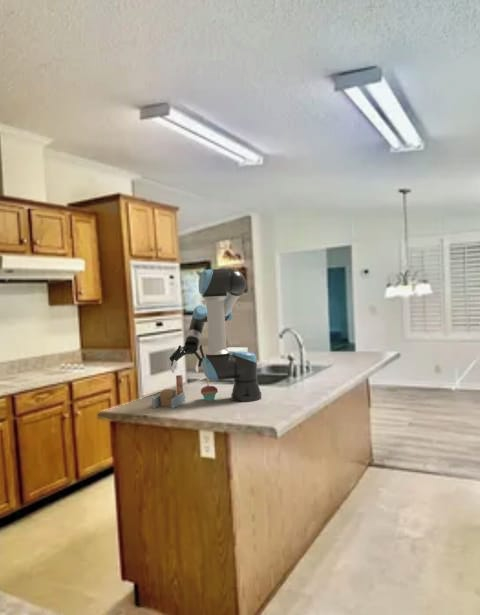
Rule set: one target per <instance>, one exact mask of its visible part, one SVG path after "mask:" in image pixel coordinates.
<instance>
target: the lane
mask: <svg viewBox="0 0 480 615" xmlns="http://www.w3.org/2000/svg"><path fill="white" fill-rule="evenodd" d="M185 401H186V394H185V392H183V393H181V394H179V395H177V396H176V397H174V398H172V399H171V407H170V408H171V410H174V409H176V408H177V407H179V406H181V405H183V402H184V403H185ZM151 403H152V405H151V406H152V409H156V408H158V407H161V401H160V394H159V395H156V396H155V397H153V398H152V399H151ZM180 404H181V405H180ZM178 405H179V406H178ZM175 407H176V408H175Z"/></svg>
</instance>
